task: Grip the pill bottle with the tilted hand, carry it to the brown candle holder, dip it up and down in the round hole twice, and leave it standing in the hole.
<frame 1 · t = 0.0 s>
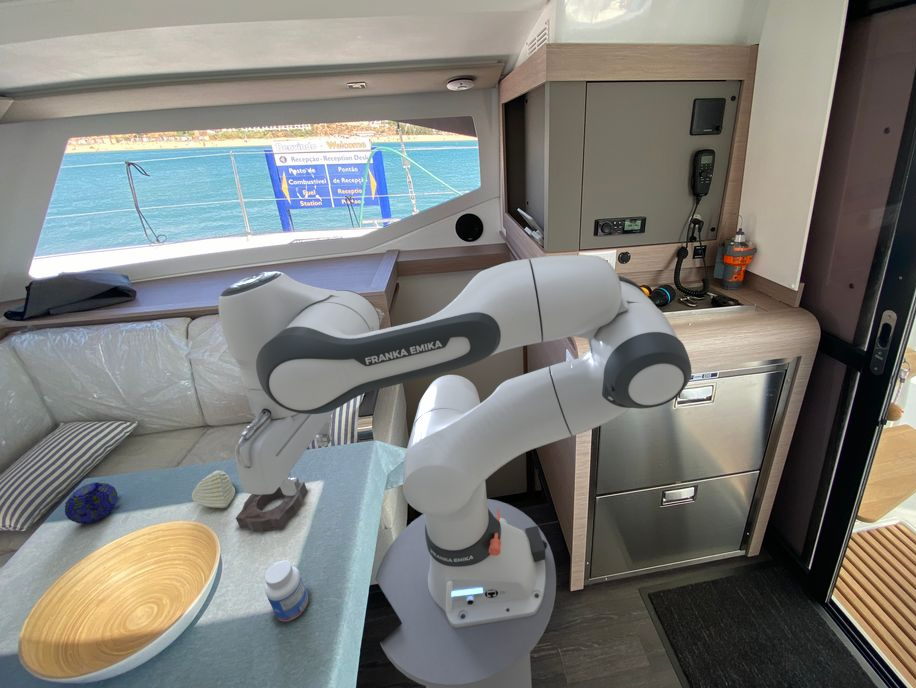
hand: (309, 465, 62), 32 cm above the table, tool pointing down, fingers open, 8 cm apart
pill bottle: (293, 607, 74), on the table
brown candle holder: (275, 508, 94), on the table
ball: (100, 514, 95), on the table
seashell: (216, 500, 97), on the table
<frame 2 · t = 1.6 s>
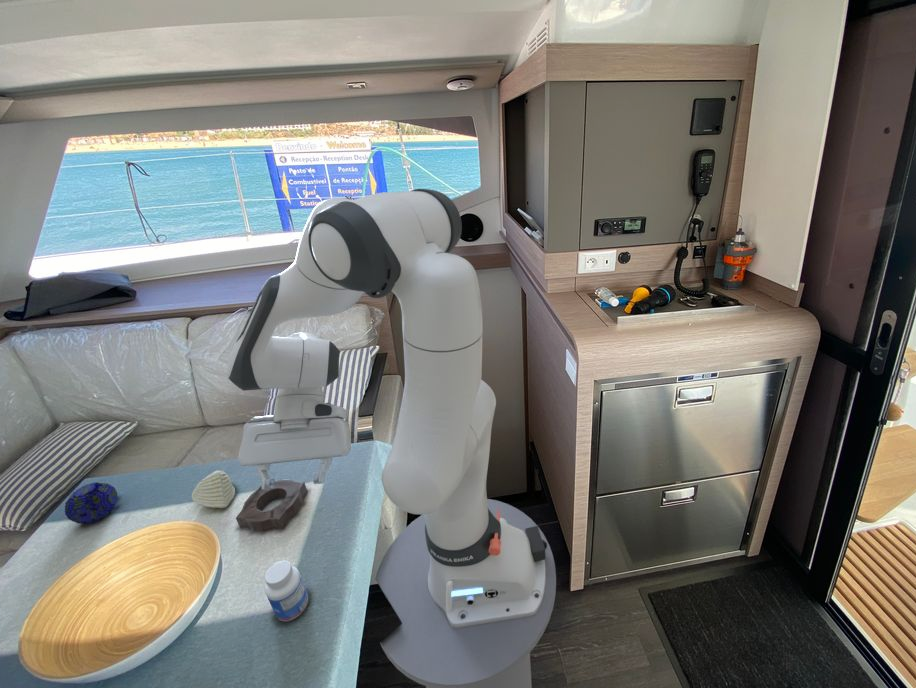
hand: (293, 486, 79), 16 cm above the table, tool tilted 45°, fingers open, 8 cm apart
nothing on the table moved.
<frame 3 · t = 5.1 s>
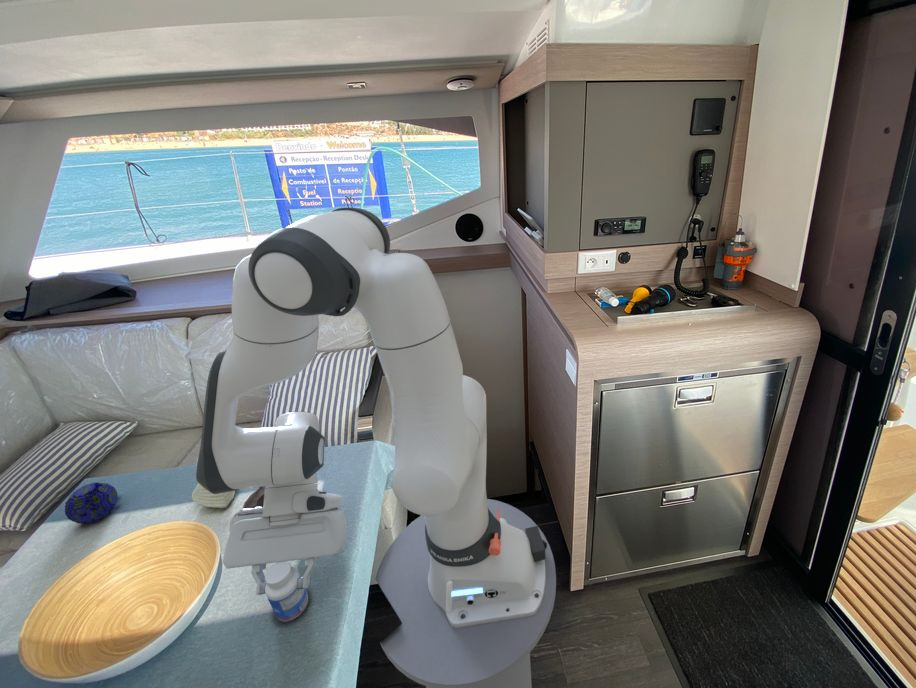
hand: (283, 590, 72), 5 cm above the table, tool tilted 45°, fingers closed on pill bottle, 5 cm apart
pill bottle: (293, 607, 74), on the table, touching gripper
everything else where it was.
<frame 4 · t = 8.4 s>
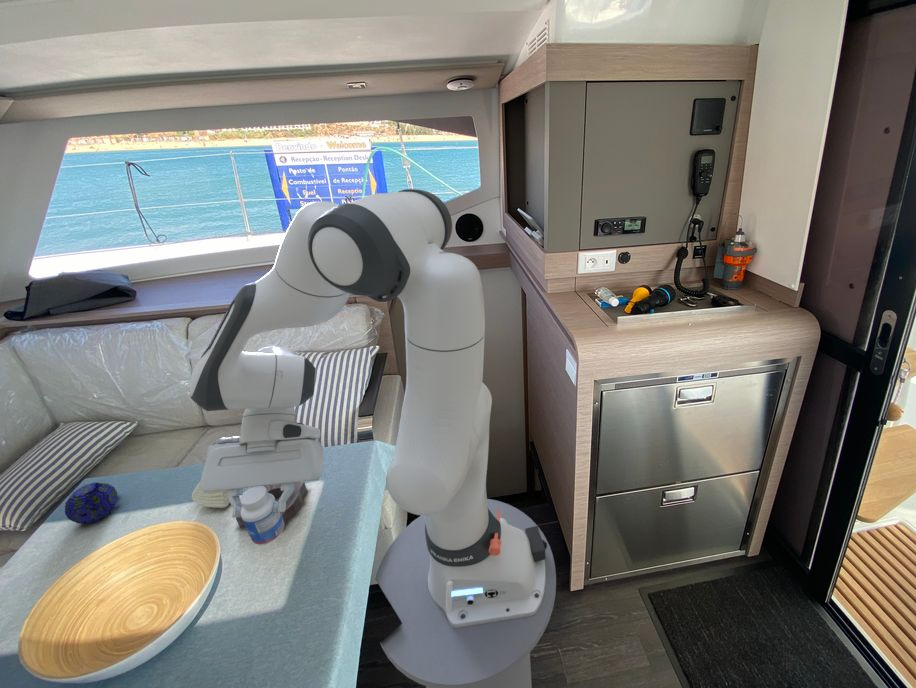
hand: (259, 514, 73), 17 cm above the table, tool tilted 45°, fingers closed on pill bottle, 5 cm apart
pill bottle: (269, 533, 76), point 11 cm above the table, touching gripper
everything else where it was.
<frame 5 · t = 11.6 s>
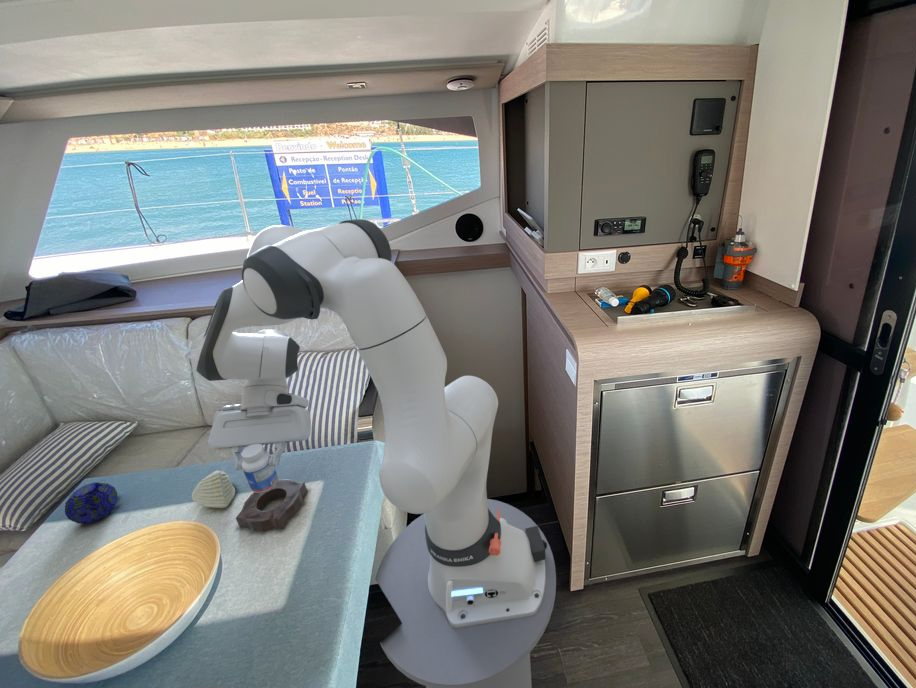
hand: (257, 467, 88), 13 cm above the table, tool tilted 45°, fingers closed on pill bottle, 5 cm apart
pill bottle: (265, 484, 91), point 7 cm above the table, touching gripper
everything else where it was.
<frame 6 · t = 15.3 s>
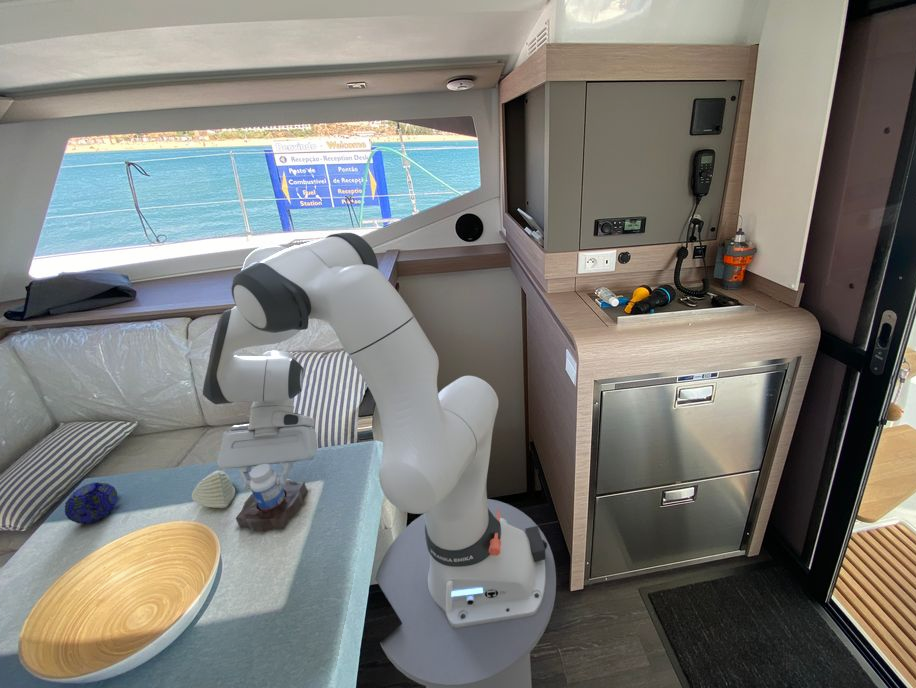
hand: (264, 486, 91), 7 cm above the table, tool tilted 45°, fingers closed on pill bottle, 5 cm apart
pill bottle: (272, 502, 93), point 2 cm above the table, touching gripper
everything else where it was.
when the fingers open (5 cm above the table, at t = 18.5 s): pill bottle stays where it is, resting in brown candle holder.
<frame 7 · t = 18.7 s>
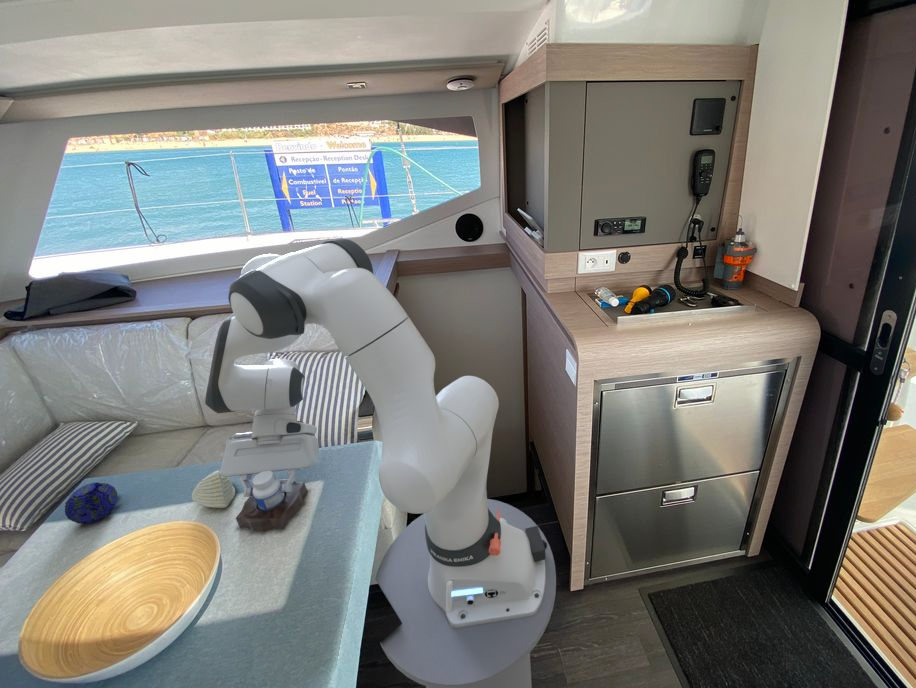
hand: (267, 494, 91), 5 cm above the table, tool tilted 45°, fingers open, 7 cm apart
pill bottle: (275, 509, 94), resting in brown candle holder
everything else where it was.
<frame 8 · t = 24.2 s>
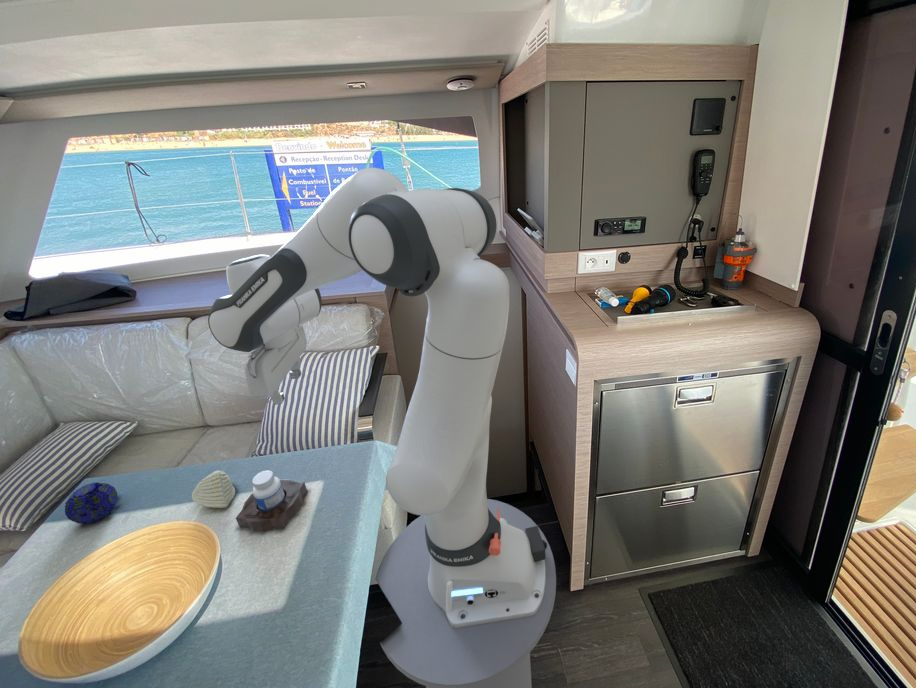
hand: (288, 389, 90), 27 cm above the table, tool pointing down, fingers open, 8 cm apart
nothing on the table moved.
at the end: pill bottle 0.1 cm off-centre in the brown candle holder, point 0.0 cm above the brown candle holder's base; pill bottle tilted 0°; the gripper is holding nothing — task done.
